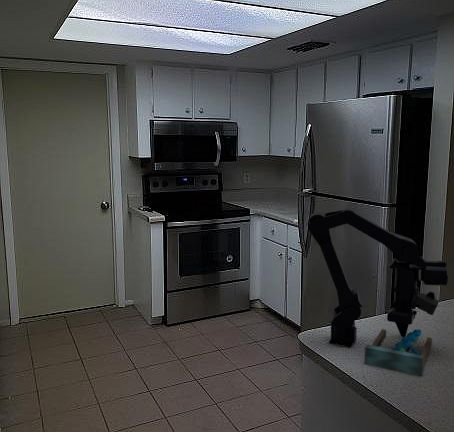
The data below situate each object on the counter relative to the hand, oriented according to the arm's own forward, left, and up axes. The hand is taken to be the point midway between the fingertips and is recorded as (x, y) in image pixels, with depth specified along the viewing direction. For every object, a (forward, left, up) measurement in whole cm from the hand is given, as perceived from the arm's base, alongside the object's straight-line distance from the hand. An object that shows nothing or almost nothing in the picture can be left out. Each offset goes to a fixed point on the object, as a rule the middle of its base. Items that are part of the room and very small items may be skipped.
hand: (403, 336), depth 131 cm
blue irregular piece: (+2, -6, -3) cm, 7 cm away
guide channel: (0, -4, -3) cm, 5 cm away
